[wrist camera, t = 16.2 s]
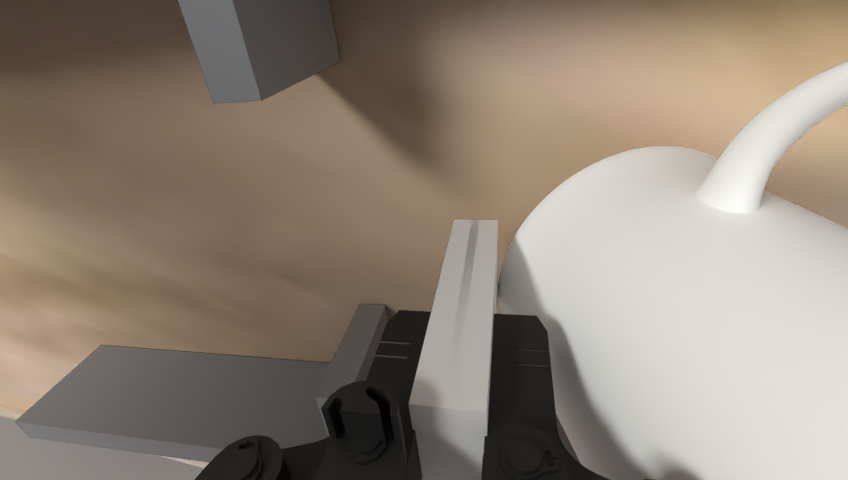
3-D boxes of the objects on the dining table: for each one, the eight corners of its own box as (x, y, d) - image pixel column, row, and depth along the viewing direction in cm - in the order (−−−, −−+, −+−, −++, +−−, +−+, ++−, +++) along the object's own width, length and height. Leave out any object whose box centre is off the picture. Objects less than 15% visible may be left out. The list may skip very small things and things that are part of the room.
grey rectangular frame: (-176, -65, 14) (-457, -80, 10) (1161, -326, 7) (1985, -708, 3) (110, 359, 25) (28, 437, 21) (776, 417, 18) (854, 552, 14)
